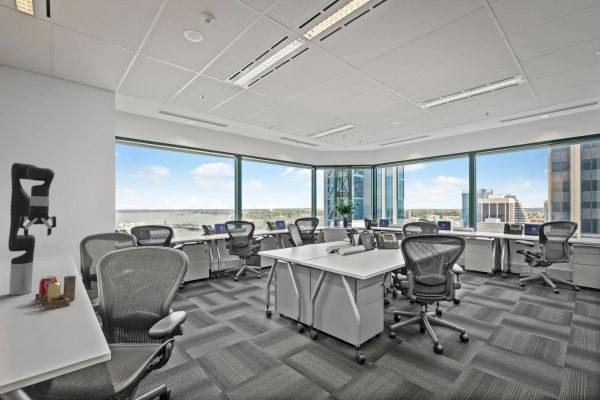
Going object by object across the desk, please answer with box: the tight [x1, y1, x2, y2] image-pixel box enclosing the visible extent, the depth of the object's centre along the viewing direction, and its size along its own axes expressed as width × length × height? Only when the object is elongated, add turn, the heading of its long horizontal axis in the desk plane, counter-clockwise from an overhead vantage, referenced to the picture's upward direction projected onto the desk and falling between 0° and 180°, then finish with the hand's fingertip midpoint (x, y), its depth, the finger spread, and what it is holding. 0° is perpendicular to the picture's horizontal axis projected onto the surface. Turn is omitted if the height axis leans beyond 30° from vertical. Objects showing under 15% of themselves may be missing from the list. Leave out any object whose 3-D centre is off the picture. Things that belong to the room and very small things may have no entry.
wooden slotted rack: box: [34, 274, 77, 311], centre depth 149 cm, size 25×13×12 cm, turn 51°
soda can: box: [38, 275, 58, 298], centre depth 152 cm, size 7×7×12 cm
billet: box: [48, 281, 62, 303], centre depth 142 cm, size 5×5×11 cm
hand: (37, 236), depth 150 cm, fingers open, 8 cm apart
